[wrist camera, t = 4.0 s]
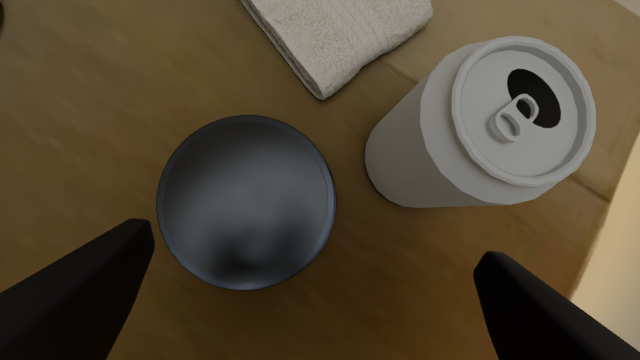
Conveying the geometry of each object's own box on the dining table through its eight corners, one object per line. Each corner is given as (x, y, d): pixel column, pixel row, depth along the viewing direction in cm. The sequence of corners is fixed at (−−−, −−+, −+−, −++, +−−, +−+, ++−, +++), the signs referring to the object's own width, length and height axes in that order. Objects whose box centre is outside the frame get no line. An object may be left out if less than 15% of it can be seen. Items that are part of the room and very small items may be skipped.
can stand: (363, 236, 23) (376, 240, 19) (213, 318, 21) (199, 339, 17) (290, 96, 23) (291, 76, 20) (139, 165, 21) (111, 156, 18)
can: (472, 167, 24) (651, 123, 12) (404, 228, 23) (530, 245, 11) (411, 95, 24) (532, -18, 12) (341, 152, 23) (399, 89, 11)
